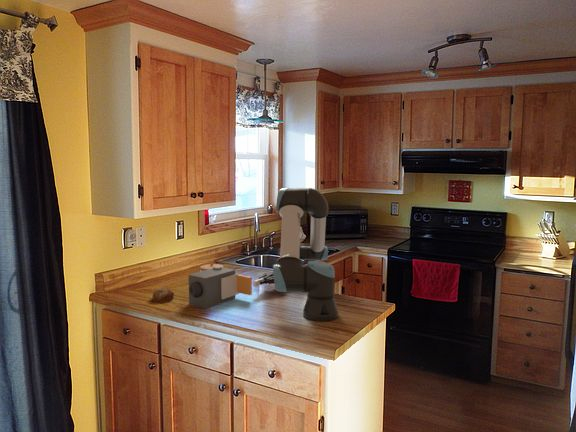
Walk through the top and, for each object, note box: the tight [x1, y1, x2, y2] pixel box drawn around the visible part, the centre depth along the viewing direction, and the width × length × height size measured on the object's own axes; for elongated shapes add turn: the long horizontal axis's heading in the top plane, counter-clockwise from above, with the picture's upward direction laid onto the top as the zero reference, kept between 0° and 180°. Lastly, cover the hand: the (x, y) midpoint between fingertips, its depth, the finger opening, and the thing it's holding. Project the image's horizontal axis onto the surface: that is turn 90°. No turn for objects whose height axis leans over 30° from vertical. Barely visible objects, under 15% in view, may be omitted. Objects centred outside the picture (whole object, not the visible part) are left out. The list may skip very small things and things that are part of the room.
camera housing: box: [187, 266, 236, 309], centre depth 231 cm, size 11×22×15 cm, turn 145°
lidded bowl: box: [199, 262, 225, 272], centre depth 265 cm, size 13×13×11 cm
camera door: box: [221, 273, 253, 299], centre depth 230 cm, size 9×12×10 cm
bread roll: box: [151, 286, 175, 303], centre depth 235 cm, size 10×10×8 cm
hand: (254, 283), depth 238 cm, fingers closed
